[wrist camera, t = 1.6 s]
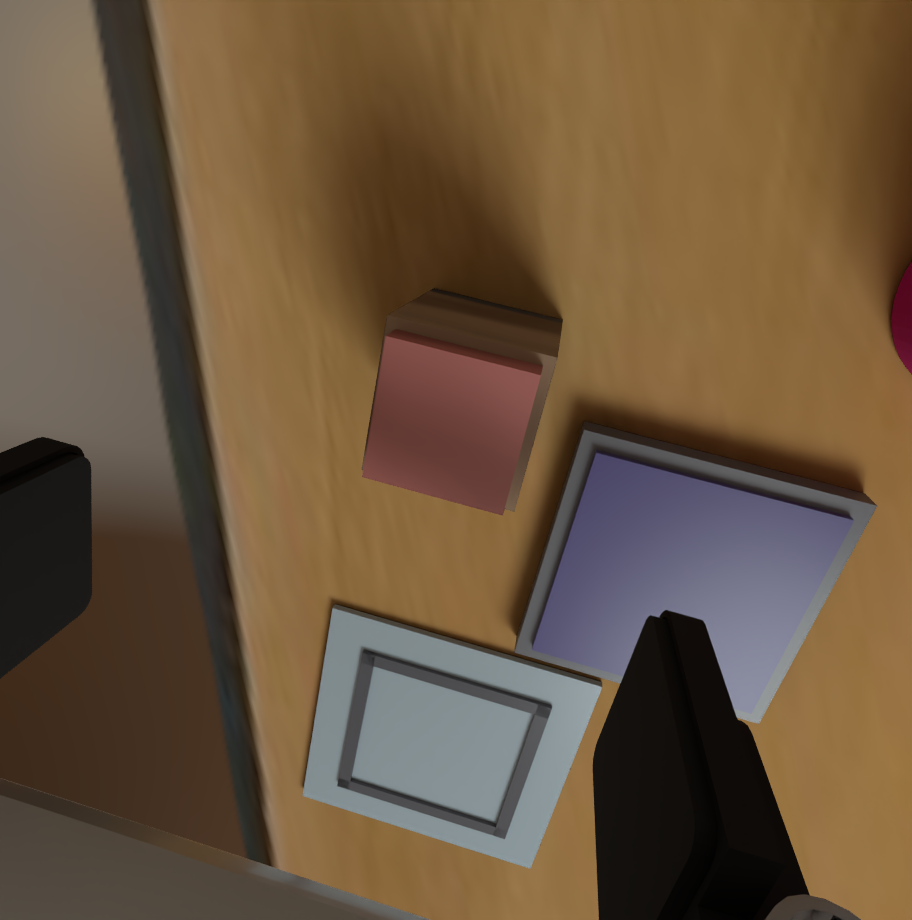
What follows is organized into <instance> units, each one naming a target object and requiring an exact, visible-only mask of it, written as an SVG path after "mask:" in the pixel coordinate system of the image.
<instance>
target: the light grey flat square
mask: <svg viewBox="0 0 912 920" xmlns="http://www.w3.org/2000/svg"><path fill="white" fill-rule="evenodd" d="M601 689H602V682H600V681H596V680H593V679H589V678H586V677H583V676H579V675H576V674H572V673H569V672H565V671H562V670H559V669H555V668H552V667H548V666H545V665H541V664H538V663H535V662H531V661H528V660H524V659H521V658H518V657H514V656H511V655H507V654H504V653H500V652H497V651H494V650H490V649H487V648H483V647H480V646H476V645H473V644H470V643H466V642H463V641H459V640H456V639H453V638H449V637H446V636H442V635H439V634H435V633H432V632H429V631H425V630H422V629H418V628H415V627H411V626H408V625H405V624H401V623H398V622H394V621H391V620H388V619H384V618H381V617H377V616H374V615H370V614H367V613H364V612H360V611H357V610H353V609H350V608H346V607H343V606H340V605H336V604H335V605H334V607H333V609H332V615H331V621H330V627H329V634H328V640H327V646H326V652H325V659H324V665H323V671H322V678H321V684H320V690H319V696H318V703H317V709H316V715H315V721H314V728H313V734H312V740H311V746H310V753H309V759H308V765H307V772H306V778H305V784H304V790H303V796H305V797H308V798H311V799H314V800H317V801H321V802H324V803H327V804H330V805H333V806H336V807H339V808H342V809H346V810H349V811H352V812H355V813H358V814H361V815H364V816H367V817H371V818H374V819H377V820H380V821H383V822H386V823H389V824H392V825H396V826H399V827H402V828H405V829H408V830H411V831H414V832H417V833H421V834H424V835H427V836H430V837H433V838H436V839H439V840H442V841H446V842H449V843H452V844H455V845H458V846H461V847H464V848H467V849H471V850H474V851H477V852H480V853H483V854H486V855H489V856H492V857H496V858H499V859H502V860H505V861H508V862H511V863H514V864H517V865H521V866H524V867H527V868H531V866H532V863H533V861H534V858H535V856H536V853H537V851H538V848H539V846H540V843H541V841H542V838H543V836H544V833H545V831H546V828H547V825H548V823H549V820H550V818H551V815H552V813H553V810H554V808H555V805H556V803H557V800H558V798H559V795H560V793H561V790H562V788H563V785H564V783H565V780H566V777H567V775H568V772H569V770H570V767H571V765H572V762H573V760H574V757H575V755H576V752H577V750H578V747H579V745H580V742H581V740H582V737H583V734H584V732H585V729H586V727H587V724H588V722H589V719H590V717H591V714H592V712H593V709H594V707H595V704H596V702H597V699H598V697H599V694H600V692H601Z"/></svg>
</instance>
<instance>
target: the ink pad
mask: <svg viewBox="0 0 912 920" xmlns="http://www.w3.org/2000/svg"><path fill="white" fill-rule="evenodd" d="M876 507H877V505H876V504H875V503H874V502H873V501H872V500H871V499H870V498H869V497H868V496H867V495H866V494H865V493H861V492H857V491H853V490H850V489H846V488H842V487H838V486H834V485H830V484H826V483H822V482H819V481H815V480H811V479H807V478H803V477H799V476H795V475H791V474H788V473H784V472H780V471H776V470H772V469H768V468H764V467H760V466H757V465H753V464H749V463H745V462H741V461H737V460H733V459H729V458H726V457H722V456H718V455H714V454H710V453H706V452H702V451H698V450H695V449H691V448H687V447H683V446H679V445H675V444H671V443H667V442H664V441H660V440H656V439H652V438H648V437H644V436H640V435H636V434H633V433H629V432H625V431H621V430H617V429H613V428H609V427H605V426H602V425H598V424H594V423H590V422H586V421H584V422H583V425H582V428H581V432H580V435H579V438H578V441H577V444H576V448H575V451H574V454H573V457H572V461H571V464H570V467H569V470H568V473H567V477H566V480H565V483H564V486H563V489H562V493H561V496H560V499H559V502H558V506H557V509H556V512H555V515H554V518H553V522H552V525H551V528H550V531H549V534H548V538H547V541H546V544H545V547H544V551H543V554H542V557H541V560H540V563H539V567H538V570H537V573H536V576H535V580H534V583H533V586H532V589H531V592H530V596H529V599H528V602H527V605H526V608H525V612H524V615H523V618H522V621H521V625H520V628H519V631H518V634H517V637H516V644H515V651H514V653H518V654H521V655H524V656H528V657H531V658H535V659H538V660H542V661H545V662H548V663H552V664H555V665H559V666H562V667H566V668H569V669H572V670H576V671H579V672H583V673H586V674H590V675H593V676H596V677H600V678H603V679H607V680H610V681H614V682H617V683H620V684H621V681H622V678H623V676H624V673H625V671H626V668H627V666H628V663H629V661H630V658H631V656H632V653H633V651H634V648H635V646H636V643H637V641H638V638H639V636H640V633H641V631H642V628H643V626H644V623H645V621H646V619H647V618H648V616H650V615H652V616H655V617H659V616H660V615H661V613H662V612H663V611H665V610H669V611H672V612H676V613H679V614H683V615H687V616H690V617H694V618H697V619H701V620H703V621H704V623H705V625H706V628H707V631H708V634H709V637H710V640H711V643H712V646H713V648H714V651H715V654H716V657H717V660H718V663H719V666H720V669H721V672H722V675H723V678H724V681H725V684H726V687H727V690H728V693H729V696H730V699H731V702H732V705H733V708H734V711H735V714H736V717H737V718H740V719H744V720H747V721H751V722H754V723H758V724H759V722H760V721H761V719H762V717H763V715H764V713H765V711H766V710H767V708H768V706H769V704H770V702H771V700H772V699H773V697H774V695H775V693H776V691H777V689H778V687H779V686H780V684H781V682H782V680H783V678H784V676H785V675H786V673H787V671H788V669H789V667H790V665H791V664H792V662H793V660H794V658H795V656H796V654H797V653H798V651H799V649H800V647H801V645H802V643H803V641H804V640H805V638H806V636H807V634H808V632H809V630H810V629H811V627H812V625H813V623H814V621H815V619H816V618H817V616H818V614H819V612H820V610H821V608H822V606H823V605H824V603H825V601H826V599H827V597H828V595H829V594H830V592H831V590H832V588H833V586H834V584H835V583H836V581H837V579H838V577H839V575H840V573H841V572H842V570H843V568H844V566H845V564H846V562H847V560H848V559H849V557H850V555H851V553H852V551H853V549H854V548H855V546H856V544H857V542H858V540H859V538H860V537H861V535H862V533H863V531H864V529H865V527H866V525H867V524H868V522H869V520H870V518H871V516H872V514H873V513H874V511H875V509H876Z"/></svg>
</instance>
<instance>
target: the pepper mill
mask: <svg viewBox="0 0 912 920" xmlns="http://www.w3.org/2000/svg"><path fill="white" fill-rule="evenodd" d="M891 324H892V333H893V340H894V344H895V348H896V350H897V352H898V355H899V357H900V359H901V360H902V362H903V364H904V365H905V367H906V368H907V369H908V370H909V372H910V373H911V374H912V262H911V263H910V265H909V266H908V268H907V270H906V271H905V273H904V275H903V278H902V280H901V282H900V284H899V287H898V290H897V293H896V296H895V299H894V304H893V310H892V322H891Z"/></svg>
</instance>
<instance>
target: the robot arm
mask: <svg viewBox="0 0 912 920" xmlns="http://www.w3.org/2000/svg"><path fill="white" fill-rule="evenodd" d="M91 526H92V525H91V465H90V462H89V461H88V459H87V458H85V457H84V454H83V452H82V450H81V449H80V448H79V447H77V446H74V445H71V444H67V443H63V442H60V441H56V440H53V439H49V438H45V437H41V438H36V439H34V440H31V441H29V442H27V443H24V444H21V445H19V446H17V447H14V448H11V449H9V450H7V451H4V452H1V453H0V678H2V677H3V676H4V675H5V674H6V673H8V672H9V671H10V670H12V669H13V668H14V667H15V666H17V665H18V664H19V663H20V662H21V661H23V660H24V659H25V658H27V657H28V656H29V655H30V654H31V653H32V652H34V651H35V650H37V649H38V648H39V647H40V646H42V645H43V644H44V643H45V642H47V641H48V640H49V639H50V638H52V637H53V636H54V635H55V634H57V633H58V632H59V631H60V630H62V629H63V628H64V627H65V626H67V625H68V624H69V623H70V622H72V621H73V620H74V619H75V618H77V617H78V616H79V615H80V614H81V613H82V612H83V611H84V610H85V609H86V607H87V605H88V604H89V601H90V599H91V595H92V536H91V535H92V528H91ZM593 786H594V810H595V835H596V859H597V883H598V907H599V920H861V919H859V918H858V917H857V916H855V915H854V914H852V913H851V912H850V911H848V910H846V909H844V908H842V907H840V906H838V905H836V904H834V903H832V902H830V901H828V900H826V899H823V898H818V897H814V896H810V895H809V892H808V889H807V886H806V884H805V881H804V878H803V875H802V872H801V870H800V867H799V864H798V861H797V858H796V856H795V853H794V850H793V847H792V844H791V842H790V839H789V836H788V833H787V830H786V828H785V825H784V822H783V819H782V816H781V814H780V811H779V808H778V805H777V802H776V799H775V797H774V794H773V791H772V788H771V785H770V783H769V780H768V777H767V774H766V771H765V769H764V766H763V763H762V760H761V757H760V755H759V752H758V749H757V746H756V743H755V741H754V738H753V735H752V733H751V731H750V729H749V727H748V725H746V724H745V723H744V722H742V721H739V720H737V717H736V714H735V711H734V708H733V705H732V702H731V699H730V696H729V693H728V690H727V687H726V684H725V681H724V678H723V675H722V672H721V669H720V666H719V663H718V660H717V657H716V654H715V651H714V648H713V646H712V643H711V640H710V637H709V634H708V631H707V628H706V625H705V623H704V621H703V620H701V619H697V618H694V617H690V616H687V615H683V614H679V613H676V612H672V611H669V610H665V611H663V612H662V613H661V615H660V616H659V617H655V616H652V615H650V616H648V618H647V619H646V621H645V623H644V626H643V628H642V631H641V633H640V636H639V638H638V641H637V643H636V646H635V648H634V651H633V653H632V656H631V658H630V661H629V663H628V666H627V668H626V671H625V673H624V676H623V678H622V681H621V684H620V686H619V689H618V691H617V694H616V696H615V699H614V701H613V704H612V706H611V709H610V711H609V714H608V716H607V719H606V721H605V724H604V726H603V729H602V731H601V734H600V736H599V739H598V741H597V744H596V748H595V752H594V758H593ZM0 920H429V919H426V918H423V917H420V916H417V915H414V914H411V913H408V912H405V911H402V910H399V909H396V908H393V907H390V906H387V905H384V904H381V903H378V902H375V901H372V900H369V899H366V898H363V897H360V896H357V895H354V894H351V893H348V892H345V891H342V890H339V889H336V888H333V887H330V886H327V885H324V884H321V883H318V882H315V881H312V880H309V879H306V878H303V877H300V876H297V875H294V874H291V873H288V872H285V871H282V870H279V869H276V868H273V867H270V866H267V865H264V864H261V863H258V862H255V861H252V860H249V859H246V858H243V857H240V856H237V855H234V854H231V853H228V852H225V851H222V850H219V849H216V848H213V847H209V846H207V845H204V844H201V843H198V842H195V841H191V840H188V839H185V838H182V837H179V836H176V835H173V834H170V833H167V832H164V831H161V830H158V829H155V828H152V827H148V826H146V825H143V824H139V823H136V822H133V821H130V820H127V819H124V818H121V817H118V816H115V815H112V814H108V813H106V812H103V811H100V810H97V809H93V808H90V807H87V806H84V805H81V804H78V803H75V802H72V801H69V800H66V799H63V798H60V797H57V796H53V795H50V794H47V793H44V792H41V791H38V790H35V789H32V788H29V787H26V786H23V785H20V784H16V783H13V782H10V781H7V780H4V779H1V778H0Z"/></svg>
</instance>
